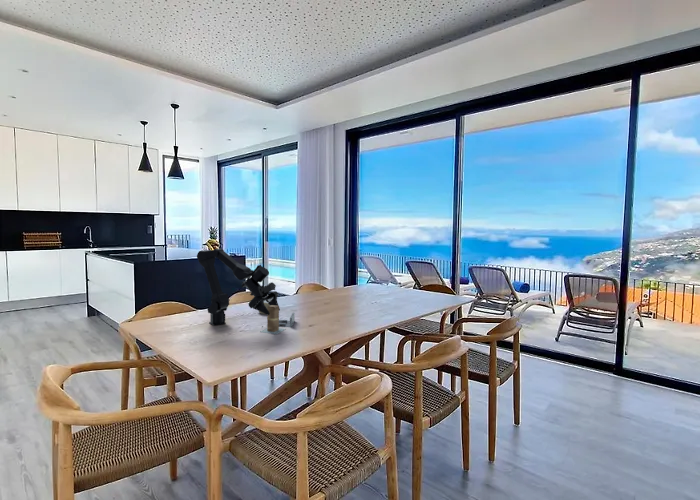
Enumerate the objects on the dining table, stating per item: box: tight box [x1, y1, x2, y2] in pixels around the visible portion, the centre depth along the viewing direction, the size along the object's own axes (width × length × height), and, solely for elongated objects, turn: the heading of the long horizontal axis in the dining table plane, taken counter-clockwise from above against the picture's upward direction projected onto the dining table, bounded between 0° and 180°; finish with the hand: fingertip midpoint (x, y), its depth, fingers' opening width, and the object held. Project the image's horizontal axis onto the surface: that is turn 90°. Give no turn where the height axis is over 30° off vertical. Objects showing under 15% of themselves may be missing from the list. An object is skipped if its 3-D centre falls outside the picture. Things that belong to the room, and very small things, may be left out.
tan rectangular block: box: [266, 305, 280, 332], centre depth 180 cm, size 4×4×12 cm
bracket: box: [279, 312, 296, 328], centre depth 193 cm, size 8×12×5 cm
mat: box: [260, 327, 286, 335], centre depth 181 cm, size 9×9×1 cm
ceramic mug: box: [258, 300, 270, 315], centre depth 217 cm, size 11×8×8 cm
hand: (274, 312), depth 180 cm, fingers open, 9 cm apart
